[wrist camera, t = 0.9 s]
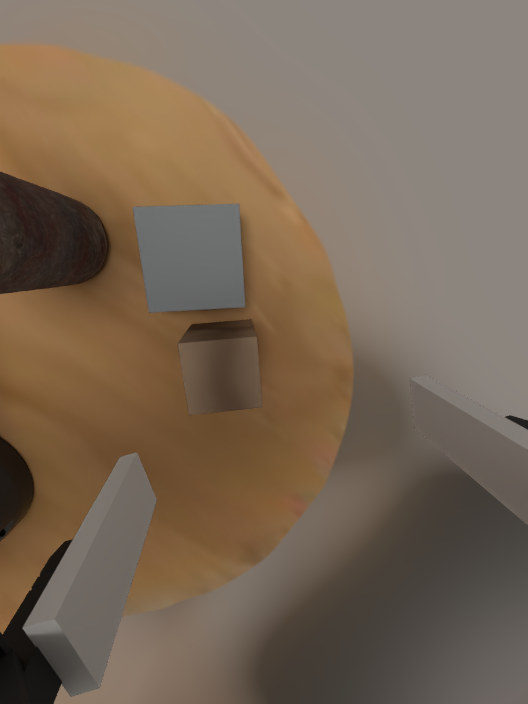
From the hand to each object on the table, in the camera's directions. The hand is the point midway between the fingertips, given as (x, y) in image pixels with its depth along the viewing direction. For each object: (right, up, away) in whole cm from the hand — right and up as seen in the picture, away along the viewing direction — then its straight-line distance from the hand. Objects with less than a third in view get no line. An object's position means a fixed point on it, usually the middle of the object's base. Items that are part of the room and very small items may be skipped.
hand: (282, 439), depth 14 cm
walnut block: (-5, +4, +17) cm, 18 cm away
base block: (-7, +13, +15) cm, 21 cm away
